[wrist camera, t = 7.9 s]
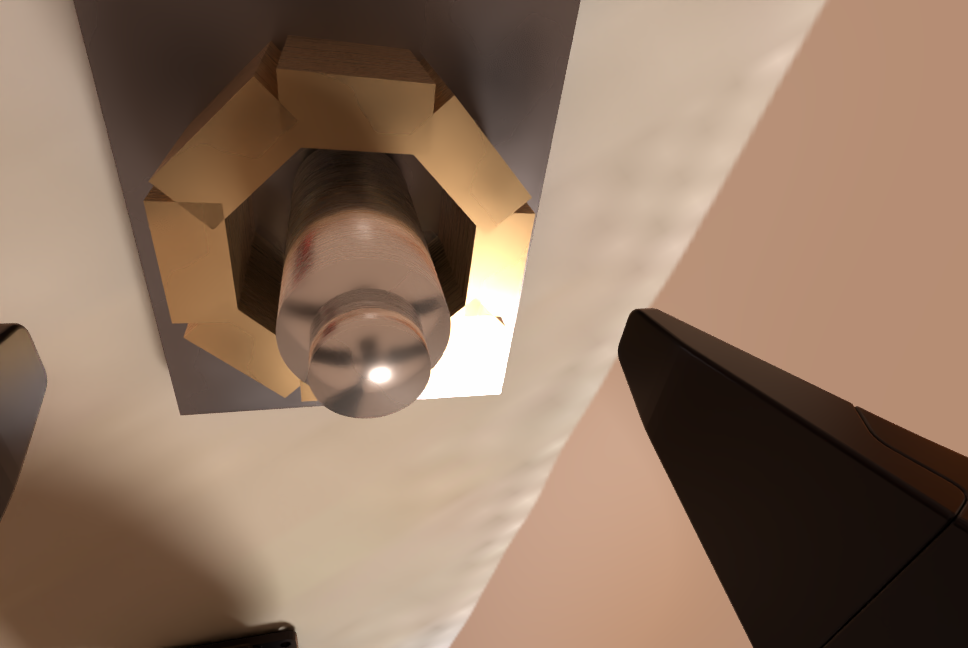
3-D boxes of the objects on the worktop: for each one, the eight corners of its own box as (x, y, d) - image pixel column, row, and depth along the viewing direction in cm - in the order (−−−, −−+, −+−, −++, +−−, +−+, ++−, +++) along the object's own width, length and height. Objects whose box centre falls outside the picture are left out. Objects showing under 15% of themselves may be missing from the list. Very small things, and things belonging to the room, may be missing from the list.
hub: (469, 312, 16) (499, 389, 13) (217, 317, 14) (192, 408, 12) (506, 60, 12) (559, 96, 10) (165, 21, 10) (108, 52, 8)
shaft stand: (491, 371, 19) (572, 578, 13) (188, 388, 17) (107, 659, 10) (582, -119, 12) (886, -183, 5) (40, -237, 9) (-631, -646, 3)
